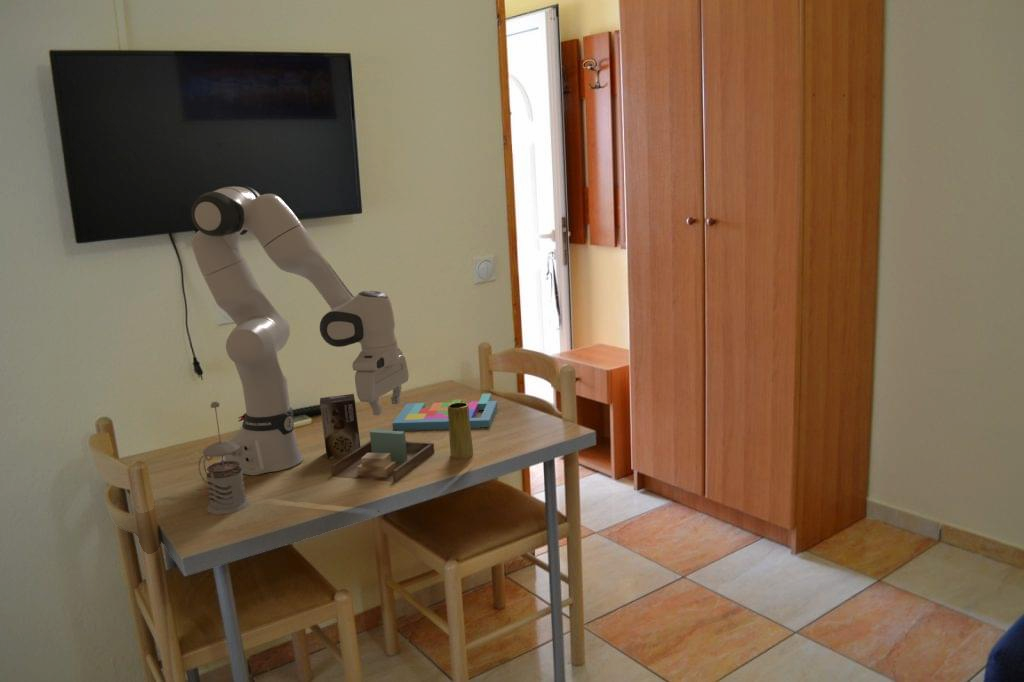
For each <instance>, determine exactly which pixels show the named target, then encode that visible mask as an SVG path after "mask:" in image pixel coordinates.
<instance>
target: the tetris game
mask: <svg viewBox="0 0 1024 682" xmlns="http://www.w3.org/2000/svg"><path fill="white" fill-rule="evenodd" d="M492 399H493V398H492V393H482V394H481V397H480V399H479V400H477V401H475V400H474V401H469V403H467V404H468V407H469V418H470V428H471V429H484V428H483V427H490V428H491V426H492V423H491V422H493V421H492V419H493V420H494V418H493V417H495V416H494V414H495V415H496V413H495V411H496V409H497V410H498V408H497V407H498V400H492ZM491 400H492V401H491ZM457 402H463V399H461V398H460V399H452V401H447V402H444V401H443V402H433V403H432V405H431V406H430V407H426V403H425V402H418V403H417V402H414V403H413V402H410V403H406V404H405V406H404V407H403V408H402V410H400V412H399V414H398V415H397V416H396V417H395V419H394V420H393V421H392V423H391V424H392V425H391V426H392V431H395V430H396V431H399V430H400V431H426V430H429V431H431V430H449V419H448V405H449V404H452V403H457ZM478 410H484V411H482V414H481V416H480V417H477V415H478V413H479V411H478ZM477 412H478V413H477ZM496 412H497V411H496ZM476 414H477V415H476ZM475 416H476V417H475ZM490 425H491V426H490ZM480 427H482V428H480Z"/></svg>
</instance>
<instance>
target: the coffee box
mask: <svg viewBox="0 0 1024 682" xmlns="http://www.w3.org/2000/svg"><path fill="white" fill-rule="evenodd" d="M319 399H320V400H319V407H320V414H321V422H322V430H323V438H324V445H325V446H324V447H325V456H326V460H333V459H342V458H344V457H345V456H347V455H349V454H350V453H352V452H353V451H355V450H356V449H358V448H360V447H361V446H362V445H361V439H360V438H361V437H360V432H359V431H360V429H359V423H358V414H357V405H356V398H355V394H354V393H350V394H342V395H341V394H340V395H333V396H326V397H320V398H319Z"/></svg>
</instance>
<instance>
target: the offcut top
mask: <svg viewBox="0 0 1024 682" xmlns="http://www.w3.org/2000/svg"><path fill="white" fill-rule="evenodd" d="M361 462H362V467H386V466H387V465H388V464H389V463H390V462H391V455H390V453H367V454H365V455H364V456H363V457H362V458H361Z"/></svg>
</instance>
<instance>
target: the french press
mask: <svg viewBox="0 0 1024 682" xmlns="http://www.w3.org/2000/svg"><path fill="white" fill-rule="evenodd" d="M210 408H212V409H214V411H215V419H216V424H217V425H216V426H217V430H218V431H217V434H218V441H219V442H214V443H212V444H210V445H208V446H206V447H205V448H204V449H203V450H202V454H203V455H202V456H201V457H200V458H199V460H198V466H197V467H198V471H199V475H200V477H201V479H202V481H203V482H204V483H205V484H207V489H208V495H209V501H210V503H209V505H208V506H207V508H206V511H207V513H209V512H210V513H209V514H212V513H213V514H212V515H227V514H233V513H237V512H239V511H242V510H244V509H246V508H248V507H249V506H251V502H252V501H251V500H250V499H249V498H248V497H246V491H245V490H246V488H245V481H244V474H243V473H242V469H241V468H240V467H239V465H240V463H239V462H237V461H224V462H223V457H225V456H226V455H230V454H232V453H235V452H237V451H238V450H239V447H240V446H239V445H237V444H235V443H233V442H227V440H226V441H221V434H220V429H219V428H220V427H219V420H218V413H217V412H218V411H217V408H220V403H219V402H218V401H212V402H211V404H210ZM208 457H210V458H208ZM213 457H214V458H215V457H216V458H218V457H221V459H222V462H218V461H217V462H218V463H217V462H215V463H212V464H210V465H208V467H207V468H206V464H205V462H206V461H210V460H212V459H213ZM202 459H203V470H204V472H205V474H206V480H207V481H206V480H205V479H204V478H203V475H202V473H201V469H200V468H201V467H200V465H201V461H202ZM232 470H233V471H232ZM207 471H208V472H207ZM234 471H237V472H234ZM229 472H232V473H229ZM226 473H228V474H226ZM212 474H213V475H212ZM225 474H226V475H225ZM212 476H213V478H212ZM214 490H215V491H214Z"/></svg>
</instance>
